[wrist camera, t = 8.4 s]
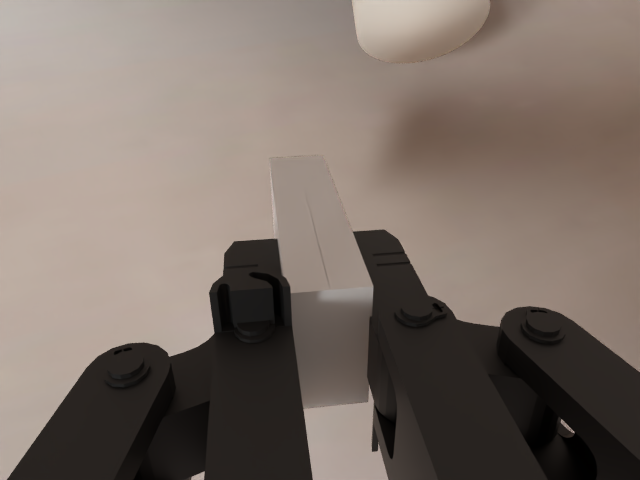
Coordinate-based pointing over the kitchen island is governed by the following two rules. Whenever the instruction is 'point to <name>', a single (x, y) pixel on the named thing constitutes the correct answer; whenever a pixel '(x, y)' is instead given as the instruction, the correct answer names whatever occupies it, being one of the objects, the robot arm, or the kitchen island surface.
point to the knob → (416, 27)
